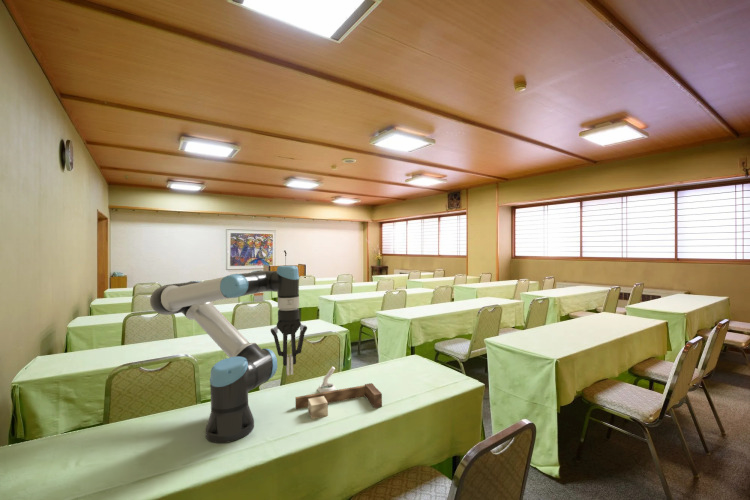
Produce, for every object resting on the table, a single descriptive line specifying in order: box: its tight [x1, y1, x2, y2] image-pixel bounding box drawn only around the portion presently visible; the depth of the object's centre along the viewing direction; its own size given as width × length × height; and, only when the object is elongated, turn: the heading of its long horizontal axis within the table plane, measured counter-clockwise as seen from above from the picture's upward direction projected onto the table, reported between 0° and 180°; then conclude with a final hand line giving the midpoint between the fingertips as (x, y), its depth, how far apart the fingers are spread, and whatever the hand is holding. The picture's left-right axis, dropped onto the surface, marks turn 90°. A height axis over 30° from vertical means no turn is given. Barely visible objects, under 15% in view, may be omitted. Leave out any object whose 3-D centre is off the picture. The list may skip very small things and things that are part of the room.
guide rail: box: [295, 382, 383, 410], centre depth 132 cm, size 32×12×5 cm, turn 111°
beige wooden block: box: [307, 396, 329, 420], centre depth 127 cm, size 6×6×5 cm
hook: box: [317, 366, 336, 393], centre depth 148 cm, size 8×12×7 cm
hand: (289, 373), depth 123 cm, fingers closed
